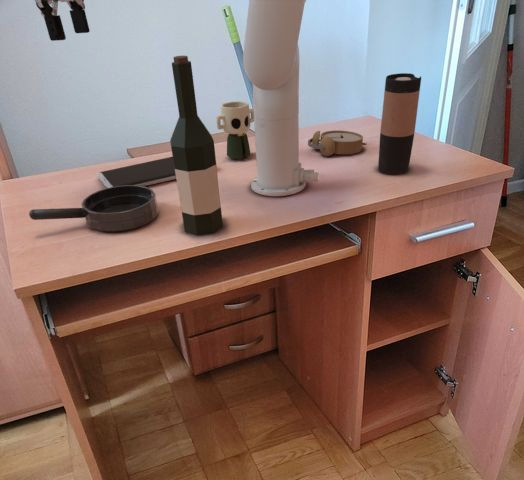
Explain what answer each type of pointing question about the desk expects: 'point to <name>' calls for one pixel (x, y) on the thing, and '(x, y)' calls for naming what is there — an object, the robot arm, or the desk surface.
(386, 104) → the travel mug
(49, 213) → the pan handle
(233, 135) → the character mug
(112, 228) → the pan
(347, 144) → the alarm clock
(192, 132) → the wine bottle
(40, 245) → the desk surface
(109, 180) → the smartphone
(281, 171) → the robot arm
